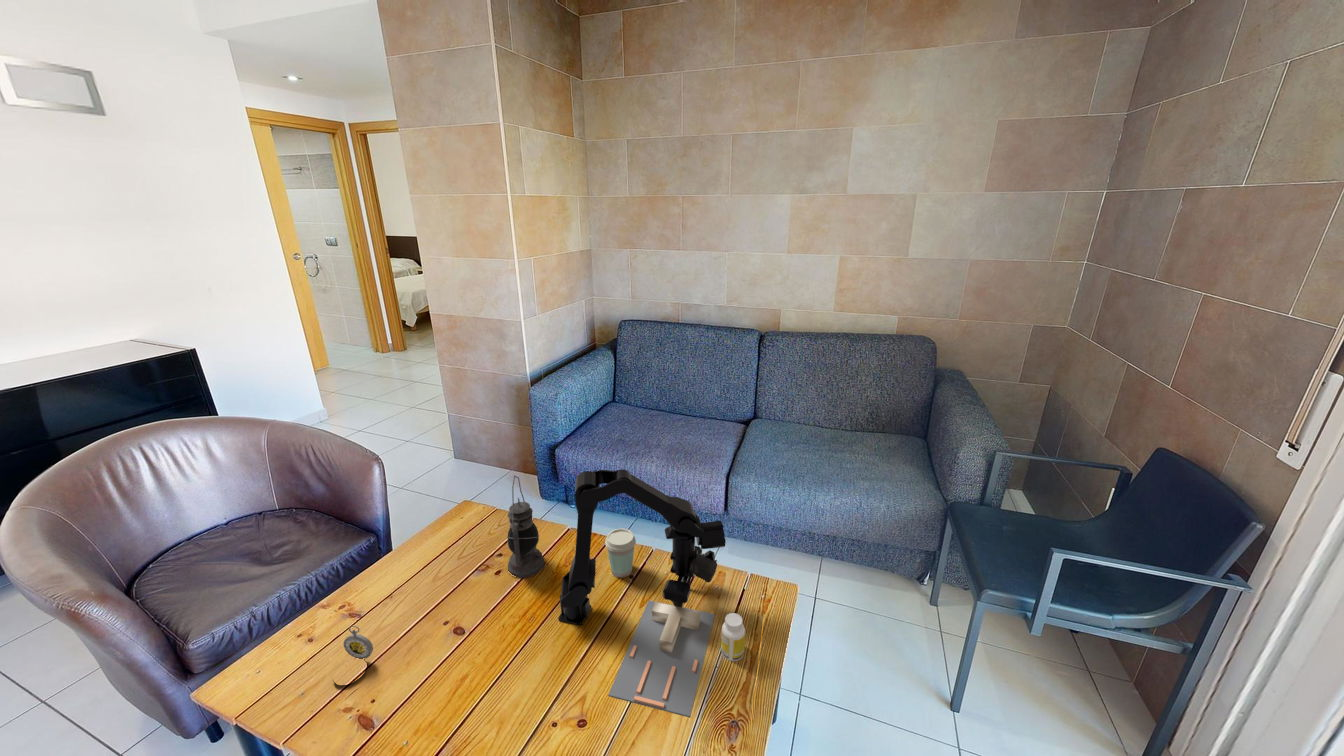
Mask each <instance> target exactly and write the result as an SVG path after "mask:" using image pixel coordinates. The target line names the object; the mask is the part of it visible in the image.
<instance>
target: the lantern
mask: <svg viewBox="0 0 1344 756" xmlns="http://www.w3.org/2000/svg"><path fill="white" fill-rule="evenodd" d="M515 479H517V481H518V487H519V491H520V494H521V497H522V500H523V501H520V497H517V502H514V487H515V486H514V485H515ZM511 488H512V489H511V492H512V493H511V494H512V504H511V505H510V506H509V509H508V511H507V517H508V521H509V523H510V524H509V530H508V531H507V536H506V538H507V542H506V543H507V547H508V549H509V550H510V551H511V553H512V554H511V555H510V557H509V560H508V563H507V567H508V570H507V572H508V571H509V572H510V573H511V574H512V575H514V576H516V577H518V578H517V579H526V578H530V577H533V576H535V575H537V574H539V573H540V572H541V571H542V570H543V568H544V567H545V563H546V562H545V560H546V559H545V558H544V556H543V553H542V552H541V551H540V550H539V549H538V548H537V546H538V544H539V540H540V534H539V531H538V526H536V525H537V524H535V522H534V521H533V512H534V511H533V508H532V507H530V506H531V505H530V503H528V502H527V501H525V497H524V495H523V491H522V487H521V482H520V477H519V476H517V475H513V480H512V487H511Z"/></svg>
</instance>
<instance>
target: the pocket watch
mask: <svg viewBox="0 0 1344 756" xmlns="http://www.w3.org/2000/svg"><path fill="white" fill-rule="evenodd" d="M351 628H356V629H357V631H356V630H355V629H352V630H351ZM348 631H349V632H350V633H351V634H350V635H348V636H347V637H346V638H345V639H343V648H344V650H345V652H347V654H348V655H350V656H351V657H354V659H356V658H359V659H363V658H365V659H368V658H369V657H370V656H371V655H372V654H373V651H374V646H373V643H372V641H371V640H370V639H369V638H367V637H366V636H364V635H362V634H359V633H360V628H359V626H356V625H351V626H349V627H348Z"/></svg>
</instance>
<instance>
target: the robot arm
mask: <svg viewBox="0 0 1344 756" xmlns="http://www.w3.org/2000/svg"><path fill="white" fill-rule="evenodd" d="M603 484H604V485H603ZM601 485H602V486H601ZM620 494H625V495H627V496H629V497H630V498H632V499H634V500H635V501H637V502H638V503H640V504H642V505H643V506H646V507H647V508H649V509H651V510H652V511H654V512H656V513H657V514H660V515H661V516H662V517H663V518H664V519H665V520H666V522H667V523H668V526H667V527H665V529H664V534H665V537H666V540H672V541H671V543H672V552H671V554H670V558H669V559H670V560H671V561H672V565H671V567H670V573H671V574H675V575H676V576H677V577H678V578H677V579H676V580H675V579H668V580H667V581H666V583H665V585H664V587H663V590H662V599H664V600H667V601H671V602H672V605H674V606H677V607H683V606H684V604H686V603H688V601H689V597H690V594H691V581H692V579H693V578H694V576H695V577H696V578H699V579H701V580H704V581H705V583H711V582H712V581H713V578H714V576H715V574H716V571H717V567H718V560H717V559H716V555H715V554H716V553H715V552H714V551H712V550H708V549H716V548H717V549H718V548H725V547H726V541H727V540H726V538H725V532H724V531H725V530H724V524H723V522H722V520H715V521H708V522H707V521H706V522H701V520H700V517H699V515H698V514H697V513H696V512H695V509H694V506H693V504H692V503H691V502H690V501H689V500H686V499H684V498H680V497H678V496H670V495H667V494H665V493H664V492H662V491H660V490H658V489H657V488H656V487H654V486H651V485H650V484H649V483H646V482H645V481H643V480H642V479H640V478H638V477H637V476H635V475H633V474H631V473H630V471H628V470H627V469H617V470H609V469H608V470H607V469H599V470H594V471H591V470H585V471H582V472H581V473H579V474H577V476H576V477H575V487H574V503H575V508H576V511H577V512H576V513H577V524H576V538H575V551H574V552H575V553H574V556H573V558H572V561H571V564H570V567H569V571H567V573H566V574H564V575H563V576H562V577H561V578H562V579H561V589H560V591H561V592H560V595H559V604H560V614H559V615H558V621H560V622H563V623H568V624H569V623H570V624H573V625H578V626H583V625H582V624H583V623H584V622H585V620H586V618H587V617H588V615H589V614H590V612H591V609H592V605H591V604H590V603H591V602H590V598H589V597H588V596H589V595H590V594H591V593H592V589H595V588H596V583H595V582H596V581H595V580H596V573H597V572H596V571H597V570H596V569H597V568H596V567H597V564H596V563H597V562H596V561H597V560H596V558H591V547H592V546H591V544H592V533H593V519H594V514H595V512H596V509H598V507H597V506H598V503H600V502H601V503H602V502H605V501H607V500H609V499H612V498H613V497H615V496H617V495H620ZM696 544H697V545H696ZM703 550H708V551H706V552H705V553H703Z"/></svg>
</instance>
